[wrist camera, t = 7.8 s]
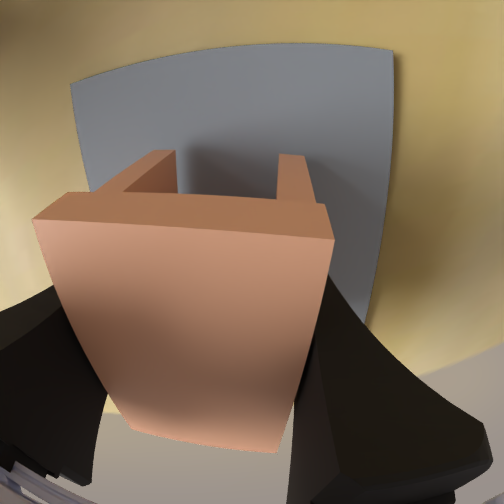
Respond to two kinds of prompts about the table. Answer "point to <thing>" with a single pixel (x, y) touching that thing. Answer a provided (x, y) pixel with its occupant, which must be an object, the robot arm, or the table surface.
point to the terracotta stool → (193, 298)
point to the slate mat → (258, 132)
